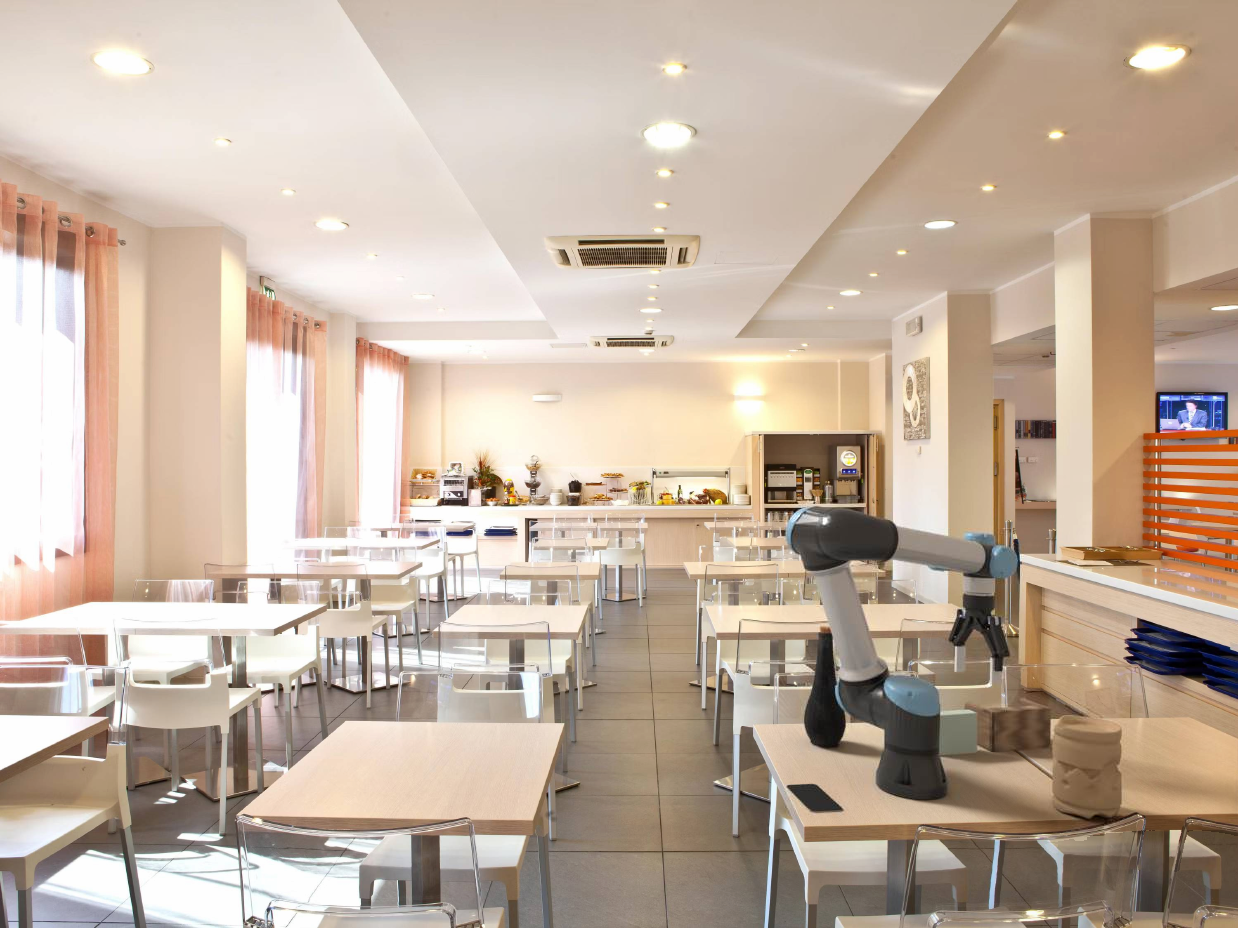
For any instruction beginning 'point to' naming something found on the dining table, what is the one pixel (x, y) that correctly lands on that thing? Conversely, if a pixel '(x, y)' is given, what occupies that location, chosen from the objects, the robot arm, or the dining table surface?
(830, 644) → the bottle
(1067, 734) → the container
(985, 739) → the cabinet
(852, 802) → the dining table surface
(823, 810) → the smartphone
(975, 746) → the door
